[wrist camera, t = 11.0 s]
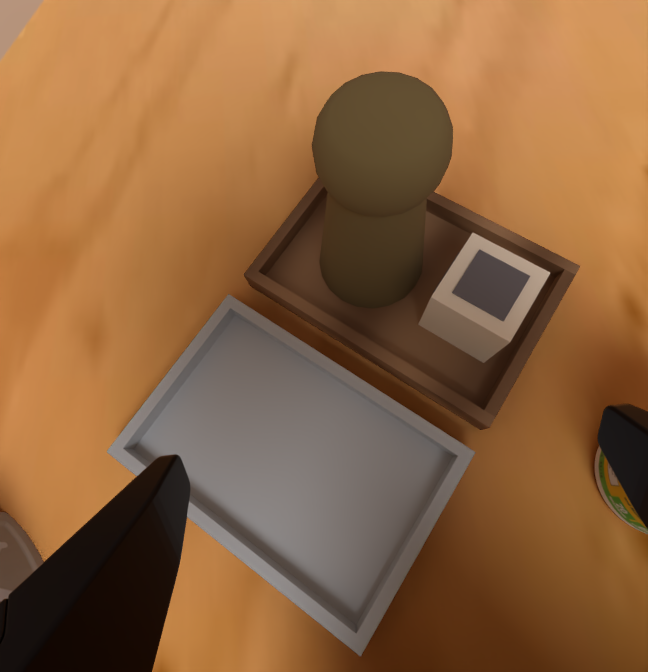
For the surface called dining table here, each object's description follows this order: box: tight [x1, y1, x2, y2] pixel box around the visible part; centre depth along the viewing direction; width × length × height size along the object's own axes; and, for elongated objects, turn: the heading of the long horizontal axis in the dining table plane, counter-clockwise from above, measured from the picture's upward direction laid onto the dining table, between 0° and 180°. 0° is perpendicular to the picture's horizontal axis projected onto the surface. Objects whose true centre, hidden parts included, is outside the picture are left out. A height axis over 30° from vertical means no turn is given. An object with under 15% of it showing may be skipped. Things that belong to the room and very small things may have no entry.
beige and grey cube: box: [418, 233, 550, 363], centre depth 21 cm, size 4×4×4 cm
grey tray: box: [107, 294, 475, 657], centre depth 22 cm, size 15×10×2 cm
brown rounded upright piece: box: [312, 72, 453, 308], centre depth 20 cm, size 6×6×11 cm
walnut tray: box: [244, 178, 580, 430], centre depth 24 cm, size 15×10×2 cm
